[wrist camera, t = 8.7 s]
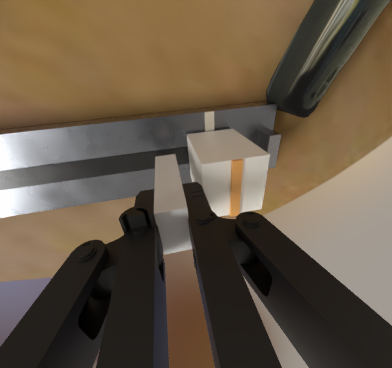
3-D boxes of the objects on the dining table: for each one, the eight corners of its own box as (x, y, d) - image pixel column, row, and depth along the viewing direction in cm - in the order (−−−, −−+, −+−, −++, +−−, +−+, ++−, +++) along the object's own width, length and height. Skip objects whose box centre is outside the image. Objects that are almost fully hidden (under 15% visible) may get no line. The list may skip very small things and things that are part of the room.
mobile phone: (315, 123, 14) (556, -224, 7) (287, 109, 13) (538, -309, 6) (279, 111, 18) (414, -120, 12) (256, 100, 17) (388, -161, 11)
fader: (186, 134, 15) (202, 166, 10) (232, 128, 15) (272, 155, 10) (190, 176, 17) (205, 221, 12) (231, 170, 17) (262, 210, 12)
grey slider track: (-78, 137, 14) (-155, 158, 10) (265, 101, 17) (292, 107, 14) (-15, 208, 17) (-56, 240, 14) (257, 167, 21) (276, 185, 17)
